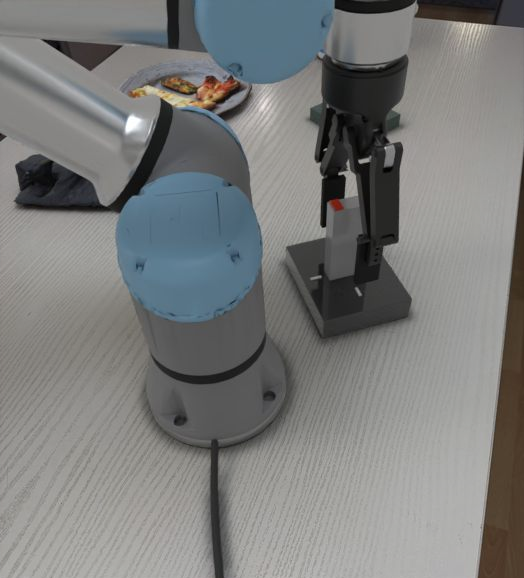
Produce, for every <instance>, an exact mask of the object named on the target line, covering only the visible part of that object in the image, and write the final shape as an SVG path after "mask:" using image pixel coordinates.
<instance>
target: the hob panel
mask: <svg viewBox="0 0 524 578" xmlns="http://www.w3.org/2000/svg"><path fill="white" fill-rule="evenodd" d="M325 241H326V236H325V237H321V238H317V239H312V240H308V241H304V242H300V243H296V244H291V245H285V261H286V262H285V263H286V266H287V268H288V270H289V273H290V274H291V276H292V278H293V280H294V282H295V284H296V286H297V289H298V290H299V292H300V293H299V294H300V295H301V297H302V299H303V301H304V303H305V305H306V307H307V310H308V311H309V313H310V316H311V317H312V319H313V322H314V323H315V325H316V328H317V329H318V331H319V333H320V336H321V338H322V339H326V338H330V337H335V336H338V335H342V334H346V333H350V332H353V331H357V330H361V329H366V328H368V327H372V326H376V325H381V324H384V323H388V322H392V321H395V320H401V319H404V318H407V317H409V315H410V312H411V311H410V310H411V306H412V302H413V298H412V296H411V295H410V293H409V292H408V290H407V289H406V287H405V286H404V284H403V283H402V282H401V280H400V279H399V277H398V275H397V274H396V273H395V271H394V270H393V268H392V267H391V265H390V264H389V262H388V260H387V259H386V258H385V256H384V255H382V261H381V266H380V272H379V279H378V280H375V281H371V282H367V283H363V284H359V285H355V283H354V281H353V279H354V275H351V276H347V277H343V278H339V279H335V280H329V278H328V277H327V275H326V273H325V271H324V261H325Z"/></svg>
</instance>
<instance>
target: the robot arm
mask: <svg viewBox="0 0 524 578" xmlns="http://www.w3.org/2000/svg"><path fill="white" fill-rule="evenodd" d="M417 2H418V0H0V134H2V135H3V136H6V137H7V138H9V139H11V140H13V141H15V142H17V143H18V144H20V145H22V146H24V147H26V148H27V149H30V150H32V151H33V152H35V153H37V154H41V155H43V156H45V157H47V158H48V159H50V160H52V161H54V162H56V163H58V164H60V165H62V166H63V167H65V168H67V169H69V170H71V171H73V172H75V173H77V174H78V175H80V176H82V177H84V178H86V179H88V180H90V181H91V182H92V183H93V186H94V188H95V191H96V193H97V196H98V199H99V201H100V203H101V204H102V205H104V206H103V207H105V208H108V209H110V210H112V211H113V212H116V213H117V214H119V215H118V219H117V222H116V225H115V226H116V227H115V236H114V237H115V238H114V239H115V248H116V257H117V264H118V267H119V271H120V273H121V275H122V280H123V282H124V283H125V285H126V288H127V290H128V292H129V295H130V297H131V301H132V304H133V307H134V310H135V313H136V315H137V318H138V321H139V325H140V327H141V330H142V333H143V336H144V339H145V343H146V344H147V348H148V350H149V361H148V364H147V365H148V366H147V371H146V378H145V392H146V393H145V394H146V399H147V403H148V406H149V409H150V411H151V413H152V417H153V418H154V420H155V422H156V423H157V424H158V426H159V427H160V428H161V429H162V430H163V431H164V432H165V433H167V434H168V436H170V437H172V438H174V439H175V440H177V441H179V442H181V443H184V444H187V445H189V446H192V447H193V446H194V447H198V448H207V449H208V448H210V475H209V477H210V479H209V481H210V483H209V484H210V486H209V487H210V489H209V493H210V494H209V495H210V517H211V518H210V522H211V539H212V554H213V566H214V578H225V575H224V564H223V554H222V542H221V541H222V540H221V527H220V512H219V511H220V510H219V509H220V508H219V448H224V447H229V446H233V445H237V444H240V443H244V442H246V441H248V440H250V439H253V437H255V436H257V435H259V434H260V433H261V432H263V431H264V430H265V429H266V428H267V427H269V426H270V424H271V423H272V422H273V421H274V420H275V419H276V417H277V416H278V414H279V413H280V412H281V409H282V407H283V405H284V402H285V399H286V394H287V372H286V368H285V364H284V360H283V358H282V355H281V354H280V352H279V350H278V348H277V347H276V345H275V343H274V342H273V340H272V338H271V337H270V335H269V334H268V332H267V323H266V309H265V308H266V307H265V293H264V279H263V278H264V277H263V265H262V260H263V254H264V242H263V236H262V230H261V226H260V223H259V222H258V215H257V214H256V210H255V209H254V203H253V196H252V195H253V194H252V187H251V172H250V166H249V162H248V158H247V156H246V155H247V154H246V153H245V151H244V148H243V146H242V144H241V142H240V139H239V137H238V136H237V134H236V132H235V131H234V130H233V129H232V127H231V126H230V125H229V124H228V123H227V121H225V120H224V119H223V118H221V117H220V115H218V116H217V115H216V114H214V113H212V112H210V111H208V110H206V109H203V108H200V107H195V106H186V107H176V106H173V105H172V104H170V103H168V102H167V101H165V100H164V99H162V98H161V97H159V96H158V95H156V94H150V95H146V96H141V97H137V98H131V97H129V96H127V95H126V94H124V93H123V92H121V91H120V90H118V89H119V88H116V87H115V86H114V85H112V84H110V83H109V82H107V81H106V80H104V79H103V78H102V77H99V76H98V75H97V74H95V73H93V72H92V71H90V70H88V69H87V68H86V67H84V66H82V65H81V64H80V63H79V62H76V61H75V60H73V59H72V58H71V57H69V56H67V55H65V54H64V53H62V52H61V51H60V50H57V49H56V48H54V47H53V46H51V45H50V44H48V43H47V42H46V41H60V42H61V41H62V42H70V43H71V42H75V43H85V44H86V43H89V44H98V45H113V46H125V47H139V48H148V49H149V48H151V49H164V50H175V51H177V50H178V51H186V52H196V53H206V54H209V56H210V57H211V59H212V60H213V62H215V63H217V64H218V65H219V66H220V67H221V68H222V69H224V70H225V71H226V72H228V73H229V74H231V75H232V76H234V77H236V78H238V79H240V80H242V81H245V82H248V83H251V84H254V85H269V84H271V85H273V84H276V83H280V82H282V81H286V80H288V79H290V78H292V77H294V76H297V74H300V72H302V71H303V70H305V69H306V67H308V66H309V65H310V64H311V63H312V62H313V61H314V59H315V58H316V57H317V56H318V53H319V51H320V50H321V48H323V51H324V52H325V53H326V54H325V55H324V56H323V58H322V59H321V82H320V84H321V85H320V94H321V97H322V102H321V103H322V112H321V118H320V124H319V125H318V131H317V137H316V143H315V149H314V156H313V157H314V158H313V159H314V161H315V164H320V165H319V173H320V175H321V177H322V178H321V192H320V218H319V226H320V227H321V228H322V229H324V228H325V229H326V221H327V202H330V200H335V199H339V200H340V199H344V198H346V185H347V176H346V174H342V173H345V172H348V171H349V170H350V172H351V173H352V174H354V175H355V181H356V189H357V196H358V199H359V207H360V215H361V224H362V232H363V234H359V235H358V237H357V238H356V240H357V251H356V261H355V270H354V279H353V281H354V283H355V285H359V284H363V283H367V282H371V281H375V280H378V279H379V272H380V266H381V261H382V255H383V254H384V247H388V246H391V245H395V244H398V243H399V240H400V185H401V184H400V181H401V180H400V177H401V175H400V174H401V164H402V160H403V154H404V145H403V143H402V142H401V141H396V142H391V141H390V140H389V138H388V132H387V114H388V113H389V112H390V110H393V109H394V108H395V107H396V106H397V105H398V104H399V103H400V102H401V101H402V99H403V97H404V94H405V88H406V81H407V75H408V68H409V63H410V62H409V61H410V60H409V56H408V55H407V53H408V52H409V51H410V49H411V44H412V39H413V38H412V37H413V30H414V25H415V24H414V23H415V18H416V14H417V13H418V11H419V4H418V3H417ZM45 40H46V41H45ZM366 159H368V161H366V162H361V163H360V161H362V160H366ZM347 163H348V164H349V166H348V164H347ZM348 167H349V168H348ZM340 173H341V174H340ZM383 256H384V255H383Z"/></svg>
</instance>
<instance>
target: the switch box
mask: <svg viewBox="0 0 524 578" xmlns="http://www.w3.org/2000/svg"><path fill="white" fill-rule="evenodd" d="M321 112H322V102H320V103H318V104H316V105H314V106H311V107H310V108H309V121H311V122H313V123H315V124H316V125H318V126H319V124H320V118H321ZM400 122H401V113H399V112H397V111H395V110H394V109H391V110H390V112H389V113H388V114H387V133H388V132H390V131H392V130H394V129H396V128H398V127H400Z"/></svg>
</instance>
